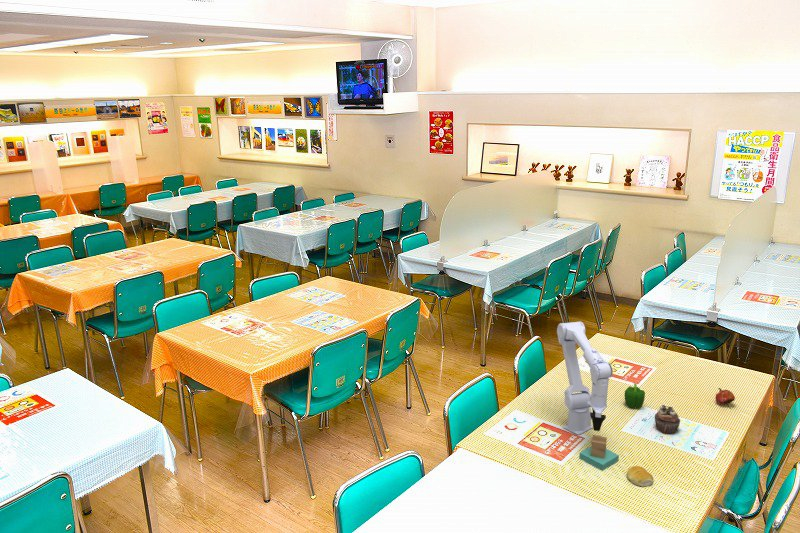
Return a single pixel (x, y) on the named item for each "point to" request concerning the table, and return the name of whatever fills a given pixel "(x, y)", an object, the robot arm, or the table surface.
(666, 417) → the cupcake
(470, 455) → the table surface
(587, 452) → the teal base
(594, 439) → the walnut block
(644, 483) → the bread roll
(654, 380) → the table surface
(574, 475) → the table surface
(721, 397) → the pomegranate
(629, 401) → the bell pepper
